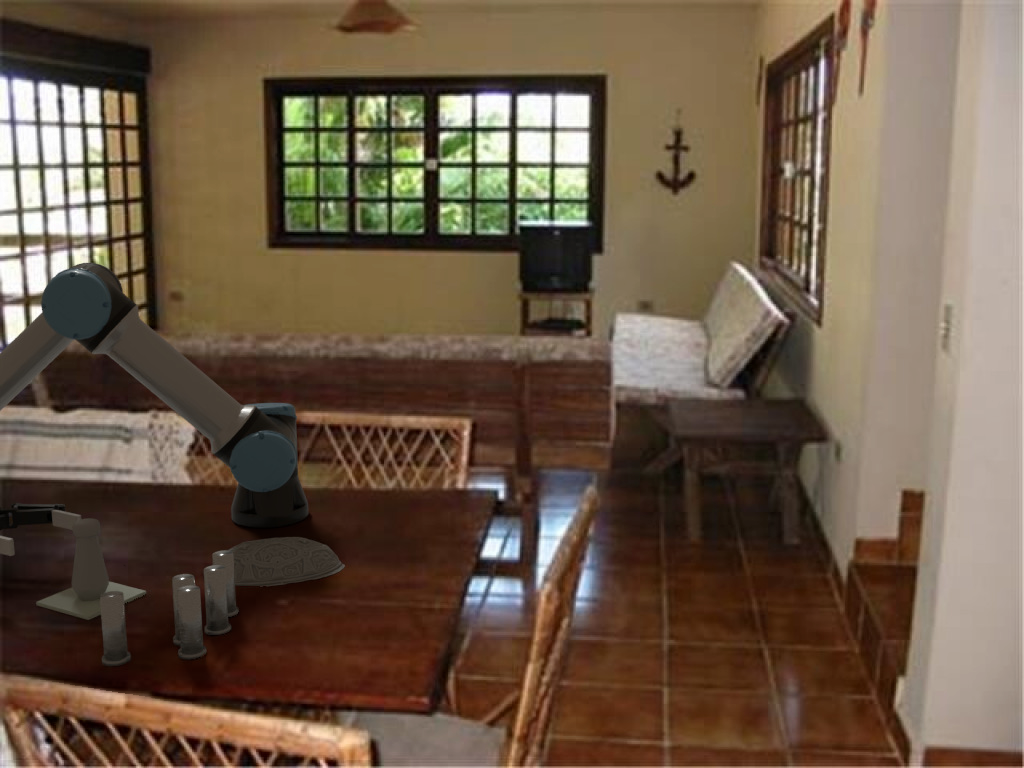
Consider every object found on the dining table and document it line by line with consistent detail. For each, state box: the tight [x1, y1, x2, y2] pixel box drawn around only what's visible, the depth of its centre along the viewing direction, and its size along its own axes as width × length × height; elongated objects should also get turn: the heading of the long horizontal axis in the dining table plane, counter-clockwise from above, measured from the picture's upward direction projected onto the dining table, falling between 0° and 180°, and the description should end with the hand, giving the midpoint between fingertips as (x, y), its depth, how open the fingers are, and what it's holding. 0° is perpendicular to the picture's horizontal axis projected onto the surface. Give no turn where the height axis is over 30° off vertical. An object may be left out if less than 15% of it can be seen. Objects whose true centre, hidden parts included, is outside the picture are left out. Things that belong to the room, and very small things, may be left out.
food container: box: [211, 536, 346, 587], centre depth 201 cm, size 16×25×7 cm, turn 106°
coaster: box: [35, 580, 147, 621], centre depth 188 cm, size 12×12×1 cm
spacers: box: [100, 549, 240, 667], centre depth 172 cm, size 21×17×10 cm
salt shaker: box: [71, 517, 110, 601], centre depth 187 cm, size 6×6×13 cm
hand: (47, 535), depth 191 cm, fingers open, 13 cm apart
